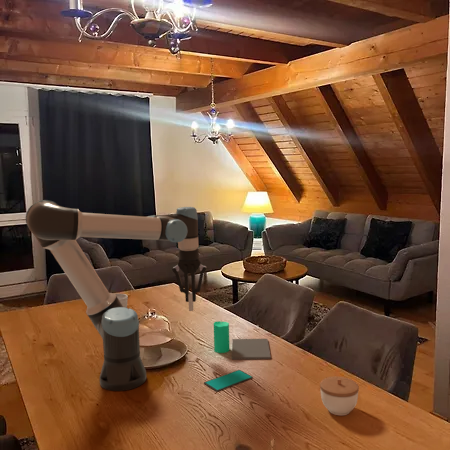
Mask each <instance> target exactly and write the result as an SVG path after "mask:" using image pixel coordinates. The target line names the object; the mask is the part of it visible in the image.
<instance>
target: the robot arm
mask: <svg viewBox="0 0 450 450" xmlns="http://www.w3.org/2000/svg"><path fill="white" fill-rule="evenodd" d="M197 212H198V210H197V208H195V207H194V206H182V207H181V206H180V207H178V208H176V212H175V213H168V214H158V215H157V214H156V215H155V214H153V215H148V216H139V215H126V214H125V215H123V214H109V213H108V214H107V213H106V214H105V213H95V212H94V213H93V212H82V211H80V210H79V208H70V207H66V206H65V207H64V206H62V205H59V204H58V203H56V202H55V201H52V200H48V199H44V200H39V201H36V202H34V203H33V204H31V205H30V206H29V208H28V209H27V212H26V214H25V222H26V223H25V224H26V226H27V228H28V229H29V231H30V232H31V234H32V235H34V238H35V239H36V240H37V241H38V243H39V244H40V246H41V247H42V249H44V250H45V249H46V250H49V251H50V253H51V254H52V255H53V257H54V259H55V261H56V262H57V263H58V265H59V266H60V268H61V270H63V272H64V273H65V275H66V276H67V277H66V278H68V280H69V281H70V283H71V284H72V286H73V287H74V288H75V290H76V292H77V293H78V295H79V296H80V298H81V299H82V301H83V302H84V303H85V305H86V306H87V308H86V311H85V314H86V315H87V317H88V318H89V320H90V321H91V323H92V325H93V326H94V328H95V329H96V330H97V332H98V333H99V335H100V337H101V339H102V346H103V347H102V348H103V363H102V367H101V370H100V375H99V386H100V387H101V388H102V389H105V390H107V391H111V392H112V391H114V392H124V391H129V390H133V389H135V388H138V387H140V386H141V385H143V384H145V382H146V380H147V370H146V367H145V365H144V363H143V359H142V357H141V349H140V328H139V327H140V320H139V315H138V313H137V312H136V311H135V309H132V308H130V307H129V308H128V307H127V308H125V307H123V306H122V304H121V302H120V301H119V299H118V298H117V296H116V295H115V294H116V293H114V292H113V293H112V292H109V290H108V289H107V287H106V286H105V284H104V283H103V281H102V279H101V278H100V277H99V275H98V273H97V272H96V270H95V269H94V267H93V265H92V264H91V262H90V260H89V259H88V258H87V255H86V254H85V253H84V251H83V249H82V248H81V247H80V245H79V243H78V241H77V240H78V239H79V238H99V239H101V238H103V239H125V240H126V239H129V240H131V239H132V240H153V241H169V242H170V243H177V244H178V245H177V246H178V247H177V248H178V249H179V250H178V262H177V265H175V266H173V267H172V268H171V271H172V272H173V274H175V277H176V281H177V285H178V288H179V292H180V293H183V294H185V297H184V298H185V302H186V303H188V311H189V312H194V309H195V307H194V302H195V303H196V301H197V293H199V292H200V291H201V287H202V284H203V278H204V274H205V272H206V270H207V266H206V265H203V264H201V260H200V250H199V229H198V227H199V225H198V222H199V221H198V220H199V219H198V213H197ZM198 269H199V271H200V273H199V278H198V281H197V282H198V283H197V286H196V272H197V271H198ZM180 270H181V271H182V273H183V276H184V285H183V281H182V277H181V273H180ZM189 274H190V277H191V278H190V279H191V292H190V287H189Z"/></svg>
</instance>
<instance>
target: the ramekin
mask: <svg viewBox="0 0 450 450" xmlns="http://www.w3.org/2000/svg"><path fill="white" fill-rule="evenodd" d="M114 294H115V295H116V296H117V298H118V299H119V301H120V302H121V304H122V306H123V307H125V308H128V299H129V296H128V295H127V294H126V293H114Z"/></svg>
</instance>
